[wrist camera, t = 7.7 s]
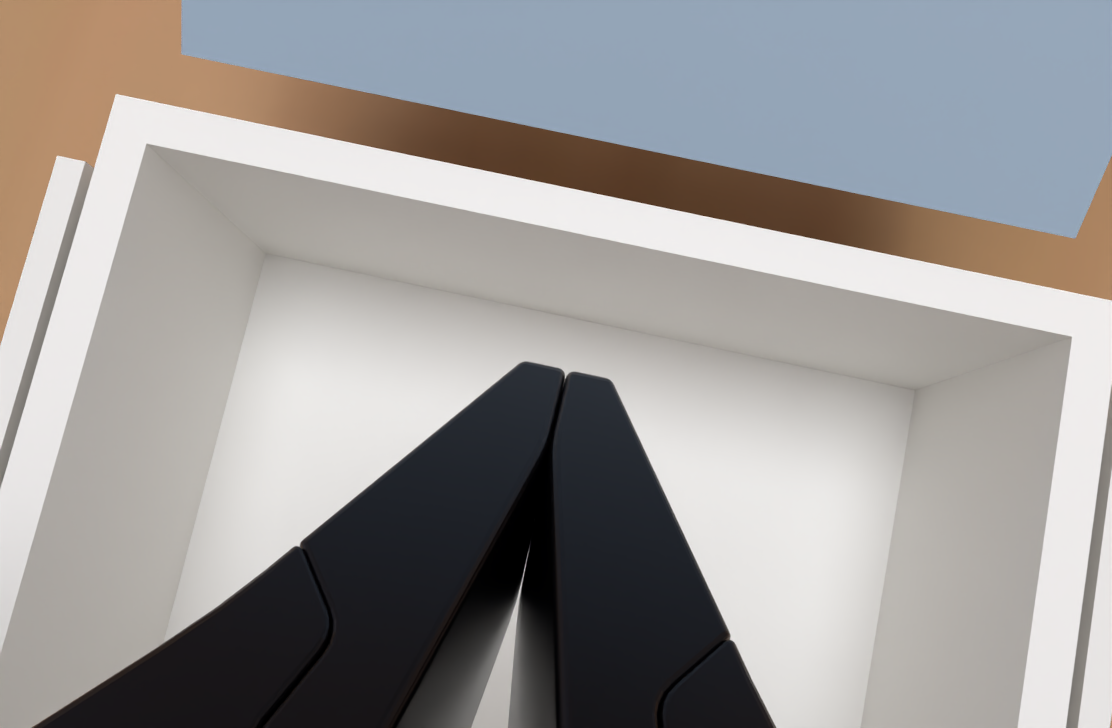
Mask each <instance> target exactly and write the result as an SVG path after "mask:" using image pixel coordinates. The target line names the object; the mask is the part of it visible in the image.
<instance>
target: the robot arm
mask: <svg viewBox="0 0 1112 728" xmlns="http://www.w3.org/2000/svg"><path fill="white" fill-rule="evenodd" d="M564 381H565V382H564ZM528 551H529V552H528ZM527 556H528V557H527ZM526 560H527V562H526ZM525 565H526V567H525ZM524 569H525V572H524ZM523 574H524V577H523ZM522 578H523V582H522ZM521 582H522V588H521V593H520V598H519V606H518V615H517V623H516V635H515V647H514V659H513V671H512V683H511V695H510V708H509V720H508V728H776V726H775V724H774V722H773V720H772V718H771V716H770V714H769V712H768V710H767V708H766V706H765V704H764V702H763V700H762V698H761V696H760V695H759V693H758V691H757V689H756V687H755V685H754V683H753V681H752V679H751V677H750V674H749V672H748V670H747V668H746V666H745V664H744V661H743V659H742V657H741V655H740V653H739V650H738V648H737V646H736V644H735V642H733V641H732V640H730V637H731V635H730V632H729V630H728V628H727V626H726V623H725V621H724V619H723V617H722V615H721V613H720V611H719V608H718V606H717V604H716V602H715V600H714V598H713V596H712V593H711V591H710V589H709V587H708V585H707V583H706V581H705V578H704V576H703V574H702V572H701V570H700V568H699V566H698V563H697V561H696V559H695V557H694V555H693V553H692V551H691V548H690V546H689V544H688V542H687V540H686V538H685V536H684V533H683V531H682V529H681V527H680V525H679V523H678V521H677V518H676V516H675V514H674V512H673V510H672V508H671V506H670V503H669V501H668V499H667V497H666V495H665V493H664V491H663V488H662V486H661V484H660V482H659V480H658V478H657V476H656V473H655V471H654V469H653V467H652V465H651V463H650V461H649V458H648V456H647V454H646V452H645V450H644V448H643V446H642V443H641V441H640V439H639V437H638V435H637V433H636V431H635V428H634V426H633V424H632V422H631V420H630V418H629V416H628V413H627V411H626V409H625V407H624V405H623V403H622V401H621V398H620V396H619V394H618V392H617V390H616V388H615V386H614V384H613V382H612V381H611V380H610V379H608V378H604V377H600V376H595V375H590V374H585V373H580V372H575V371H572V372H570V373H569V374H568V375H567V376H566V378H565V373H564V371H563V370H562V369H560V368H557V367H552V366H547V365H543V364H538V363H533V362H528V361H524V362H521V363H519V364H518V365H517V366H515V367H514V368H513V369H512V370H510V371H509V372H508V373H507V374H506V375H504V376H503V377H502V378H501V379H499V380H498V381H497V382H496V383H494V384H493V385H492V386H491V387H490V388H488V389H487V390H486V391H485V392H483V393H482V394H481V395H480V396H479V397H477V398H476V399H475V400H474V401H472V402H471V403H470V404H469V405H468V406H466V407H465V408H464V409H463V410H461V411H460V412H459V413H458V414H456V415H455V416H454V417H453V418H452V419H450V420H449V421H448V422H447V423H445V424H444V425H443V426H442V427H441V428H439V429H438V430H437V431H436V432H434V433H433V434H432V435H431V436H430V437H428V438H427V439H426V440H425V441H423V442H422V443H421V444H420V445H418V446H417V447H416V448H415V449H414V450H412V451H411V452H410V453H409V454H407V455H406V456H405V457H404V458H403V459H401V460H400V461H399V462H398V463H396V464H395V465H394V466H393V467H392V468H390V469H389V470H388V471H387V472H385V473H384V474H383V475H382V476H380V477H379V478H378V479H377V480H376V481H374V482H373V483H372V484H371V485H369V486H368V487H367V488H366V489H365V490H363V491H362V492H361V493H360V494H358V495H357V496H356V497H355V498H353V499H352V500H351V501H350V502H349V503H347V504H346V505H345V506H344V507H342V508H341V509H340V510H339V511H338V512H336V513H335V514H334V515H333V516H331V517H330V518H329V519H328V520H326V521H325V522H324V523H323V524H322V525H320V526H319V527H318V528H317V529H315V530H314V531H313V532H312V533H311V534H309V535H308V536H307V537H306V538H304V539H303V540H302V541H301V543H300V547H299V546H294V547H293V548H291V549H290V550H289V551H288V552H286V553H285V554H284V555H283V556H282V557H280V558H279V559H278V560H277V561H276V562H274V563H273V564H272V565H271V566H270V567H268V568H267V569H266V570H265V571H263V572H262V573H261V574H259V575H258V576H257V577H255V578H254V579H253V580H251V581H250V582H249V583H248V584H246V585H245V586H244V587H242V588H241V589H240V590H238V591H237V592H236V593H234V594H233V595H232V596H231V597H229V598H228V599H227V600H225V601H224V602H223V603H221V604H220V605H219V606H217V607H216V608H215V609H213V610H212V611H210V612H209V613H207V614H206V615H204V616H203V617H201V618H200V619H198V620H197V621H195V622H194V623H192V624H191V625H189V626H188V627H186V628H185V629H183V630H182V631H180V632H179V633H178V634H176V635H175V636H173V637H172V638H170V639H169V640H167V641H166V642H164V643H163V644H161V645H160V646H158V647H157V648H155V649H154V650H152V651H151V652H149V653H147V654H146V655H144V656H143V657H141V658H140V659H138V660H136V661H135V662H133V663H132V664H130V665H129V666H127V667H125V668H124V669H122V670H121V671H119V672H118V673H116V674H115V675H113V676H111V677H110V678H108V679H107V680H105V681H104V682H102V683H100V684H99V685H97V686H96V687H94V688H93V689H91V690H89V691H88V692H86V693H85V694H83V695H82V696H80V697H79V698H77V699H75V700H74V701H72V702H71V703H69V704H68V705H66V706H64V707H63V708H61V709H60V710H58V711H57V712H55V713H54V714H52V715H50V716H49V717H47V718H46V719H44V720H43V721H41V722H39V723H38V724H36V725H35V726H33V727H32V728H471V727H472V724H473V721H474V718H475V716H476V713H477V710H478V707H479V705H480V702H481V699H482V697H483V694H484V691H485V688H486V686H487V683H488V680H489V677H490V675H491V672H492V669H493V666H494V664H495V661H496V658H497V655H498V653H499V650H500V647H501V644H502V642H503V639H504V636H505V634H506V631H507V628H508V625H509V623H510V619H511V616H512V613H513V610H514V607H515V604H516V601H517V598H518V594H519V590H520V586H521Z"/></svg>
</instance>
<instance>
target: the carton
mask: <svg viewBox="0 0 1112 728" xmlns="http://www.w3.org/2000/svg"><path fill="white" fill-rule="evenodd" d="M524 361H528V362H533V363H538V364H543V365H547V366H552V367H557V368H560V369H562V370H563V371H564V373H565V378H566V376H567V375H568V374H569V373H570V372H572V371H575V372H580V373H585V374H590V375H595V376H600V377H604V378H608V379H610V380H611V381H612V382H613V384H614V386H615V388H616V390H617V392H618V394H619V396H620V398H621V401H622V403H623V405H624V407H625V409H626V411H627V413H628V416H629V418H630V420H631V422H632V424H633V426H634V428H635V431H636V433H637V435H638V437H639V439H640V441H641V443H642V446H643V448H644V450H645V452H646V454H647V456H648V458H649V461H650V463H651V465H652V467H653V469H654V471H655V473H656V476H657V478H658V480H659V482H660V484H661V486H662V488H663V491H664V493H665V495H666V497H667V499H668V501H669V503H670V506H671V508H672V510H673V512H674V514H675V516H676V518H677V521H678V523H679V525H680V527H681V529H682V531H683V533H684V536H685V538H686V540H687V542H688V544H689V546H690V548H691V551H692V553H693V555H694V557H695V559H696V561H697V563H698V566H699V568H700V570H701V572H702V574H703V576H704V578H705V581H706V583H707V585H708V587H709V589H710V591H711V593H712V596H713V598H714V600H715V602H716V604H717V606H718V608H719V611H720V613H721V615H722V617H723V619H724V621H725V623H726V626H727V628H728V630H729V632H730V635H731V637H730V640H732V641H733V642H735V644H736V646H737V648H738V650H739V653H740V655H741V657H742V659H743V661H744V664H745V666H746V668H747V670H748V672H749V674H750V677H751V679H752V681H753V683H754V685H755V687H756V689H757V691H758V693H759V695H760V696H761V698H762V700H763V702H764V704H765V706H766V708H767V710H768V712H769V714H770V716H771V718H772V720H773V722H774V724H775V726H776V728H1110V721H1111V714H1112V301H1111V300H1106V299H1101V298H1096V297H1091V296H1087V295H1082V294H1077V293H1072V292H1067V291H1062V290H1058V289H1053V288H1048V287H1043V286H1038V285H1034V284H1029V283H1024V282H1019V281H1014V280H1009V279H1005V278H1000V277H995V276H990V275H985V274H981V273H976V272H971V271H966V270H961V269H956V268H952V267H947V266H942V265H937V264H932V263H928V262H923V261H918V260H913V259H908V258H903V257H899V256H894V255H889V254H884V253H879V252H875V251H870V250H865V249H860V248H855V247H850V246H846V245H841V244H836V243H831V242H826V241H822V240H817V239H812V238H807V237H802V236H797V235H793V234H788V233H783V232H778V231H773V230H769V229H764V228H759V227H754V226H749V225H745V224H740V223H735V222H730V221H725V220H720V219H716V218H711V217H706V216H701V215H696V214H692V213H687V212H682V211H677V210H672V209H667V208H663V207H658V206H653V205H648V204H643V203H639V202H634V201H629V200H624V199H619V198H614V197H610V196H605V195H600V194H595V193H590V192H586V191H581V190H576V189H571V188H566V187H561V186H557V185H552V184H547V183H542V182H537V181H533V180H528V179H523V178H518V177H513V176H508V175H504V174H499V173H494V172H489V171H484V170H480V169H475V168H470V167H465V166H460V165H455V164H451V163H446V162H441V161H436V160H431V159H427V158H422V157H417V156H412V155H407V154H402V153H398V152H393V151H388V150H383V149H378V148H374V147H369V146H364V145H359V144H354V143H349V142H345V141H340V140H335V139H330V138H325V137H321V136H316V135H311V134H306V133H301V132H297V131H292V130H287V129H282V128H277V127H272V126H268V125H263V124H258V123H253V122H248V121H244V120H239V119H234V118H229V117H224V116H219V115H215V114H210V113H205V112H200V111H195V110H191V109H186V108H181V107H176V106H171V105H166V104H162V103H157V102H152V101H147V100H142V99H138V98H133V97H128V96H123V95H118V94H116V96H115V99H114V103H113V106H112V110H111V113H110V116H109V120H108V123H107V127H106V130H105V133H104V137H103V140H102V144H101V147H100V151H99V154H98V157H97V161H96V164H95V168H93V167H92V166H90V165H89V164H88V163H87V162H85V161H80V160H75V159H71V158H66V157H61V156H57V158H56V161H55V165H54V168H53V172H52V175H51V178H50V182H49V185H48V188H47V192H46V195H45V198H44V202H43V205H42V208H41V212H40V215H39V218H38V222H37V225H36V228H35V232H34V235H33V238H32V242H31V245H30V248H29V252H28V255H27V258H26V262H25V265H24V268H23V272H22V275H21V278H20V282H19V285H18V289H17V292H16V295H15V299H14V302H13V305H12V309H11V312H10V315H9V319H8V322H7V325H6V329H5V332H4V335H3V339H2V342H1V345H0V728H32V727H33V726H35V725H36V724H38V723H39V722H41V721H43V720H44V719H46V718H47V717H49V716H50V715H52V714H54V713H55V712H57V711H58V710H60V709H61V708H63V707H64V706H66V705H68V704H69V703H71V702H72V701H74V700H75V699H77V698H79V697H80V696H82V695H83V694H85V693H86V692H88V691H89V690H91V689H93V688H94V687H96V686H97V685H99V684H100V683H102V682H104V681H105V680H107V679H108V678H110V677H111V676H113V675H115V674H116V673H118V672H119V671H121V670H122V669H124V668H125V667H127V666H129V665H130V664H132V663H133V662H135V661H136V660H138V659H140V658H141V657H143V656H144V655H146V654H147V653H149V652H151V651H152V650H154V649H155V648H157V647H158V646H160V645H161V644H163V643H164V642H166V641H167V640H169V639H170V638H172V637H173V636H175V635H176V634H178V633H179V632H180V631H182V630H183V629H185V628H186V627H188V626H189V625H191V624H192V623H194V622H195V621H197V620H198V619H200V618H201V617H203V616H204V615H206V614H207V613H209V612H210V611H212V610H213V609H215V608H216V607H217V606H219V605H220V604H221V603H223V602H224V601H225V600H227V599H228V598H229V597H231V596H232V595H233V594H234V593H236V592H237V591H238V590H240V589H241V588H242V587H244V586H245V585H246V584H248V583H249V582H250V581H251V580H253V579H254V578H255V577H257V576H258V575H259V574H261V573H262V572H263V571H265V570H266V569H267V568H268V567H270V566H271V565H272V564H273V563H274V562H276V561H277V560H278V559H279V558H280V557H282V556H283V555H284V554H285V553H286V552H288V551H289V550H290V549H291V548H293V547H294V546H299V547H300V543H301V541H302V540H303V539H304V538H306V537H307V536H308V535H309V534H311V533H312V532H313V531H314V530H315V529H317V528H318V527H319V526H320V525H322V524H323V523H324V522H325V521H326V520H328V519H329V518H330V517H331V516H333V515H334V514H335V513H336V512H338V511H339V510H340V509H341V508H342V507H344V506H345V505H346V504H347V503H349V502H350V501H351V500H352V499H353V498H355V497H356V496H357V495H358V494H360V493H361V492H362V491H363V490H365V489H366V488H367V487H368V486H369V485H371V484H372V483H373V482H374V481H376V480H377V479H378V478H379V477H380V476H382V475H383V474H384V473H385V472H387V471H388V470H389V469H390V468H392V467H393V466H394V465H395V464H396V463H398V462H399V461H400V460H401V459H403V458H404V457H405V456H406V455H407V454H409V453H410V452H411V451H412V450H414V449H415V448H416V447H417V446H418V445H420V444H421V443H422V442H423V441H425V440H426V439H427V438H428V437H430V436H431V435H432V434H433V433H434V432H436V431H437V430H438V429H439V428H441V427H442V426H443V425H444V424H445V423H447V422H448V421H449V420H450V419H452V418H453V417H454V416H455V415H456V414H458V413H459V412H460V411H461V410H463V409H464V408H465V407H466V406H468V405H469V404H470V403H471V402H472V401H474V400H475V399H476V398H477V397H479V396H480V395H481V394H482V393H483V392H485V391H486V390H487V389H488V388H490V387H491V386H492V385H493V384H494V383H496V382H497V381H498V380H499V379H501V378H502V377H503V376H504V375H506V374H507V373H508V372H509V371H510V370H512V369H513V368H514V367H515V366H517V365H518V364H519V363H521V362H524ZM564 382H565V381H564ZM528 552H529V551H528ZM527 557H528V556H527ZM526 562H527V560H526ZM525 567H526V565H525ZM524 572H525V569H524ZM523 577H524V574H523ZM522 582H523V578H522ZM522 582H521V586H520V590H519V594H518V598H517V601H516V604H515V607H514V610H513V613H512V616H511V619H510V623H509V625H508V628H507V631H506V634H505V636H504V639H503V642H502V644H501V647H500V650H499V653H498V655H497V658H496V661H495V664H494V666H493V669H492V672H491V675H490V677H489V680H488V683H487V686H486V688H485V691H484V694H483V697H482V699H481V702H480V705H479V707H478V710H477V713H476V716H475V718H474V721H473V724H472V727H471V728H508V720H509V708H510V695H511V683H512V671H513V659H514V647H515V635H516V623H517V615H518V606H519V598H520V593H521V588H522Z"/></svg>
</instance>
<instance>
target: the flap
mask: <svg viewBox="0 0 1112 728" xmlns="http://www.w3.org/2000/svg"><path fill="white" fill-rule="evenodd" d="M182 54H183V55H188V56H193V57H197V58H202V59H207V60H212V61H217V62H222V63H227V64H231V65H236V66H241V67H246V68H251V69H256V70H260V71H265V72H270V73H275V74H280V75H285V76H290V77H294V78H299V79H304V80H309V81H314V82H319V83H323V84H328V85H333V86H338V87H343V88H348V89H353V90H357V91H362V92H367V93H372V94H377V95H382V96H387V97H391V98H396V99H401V100H406V101H411V102H416V103H420V104H425V105H430V106H435V107H440V108H445V109H450V110H454V111H459V112H464V113H469V114H474V115H479V116H484V117H488V118H493V119H498V120H503V121H508V122H513V123H517V124H522V125H527V126H532V127H537V128H542V129H547V130H551V131H556V132H561V133H566V134H571V135H576V136H581V137H585V138H590V139H595V140H600V141H605V142H610V143H614V144H619V145H624V146H629V147H634V148H639V149H644V150H648V151H653V152H658V153H663V154H668V155H673V156H677V157H682V158H687V159H692V160H697V161H702V162H707V163H711V164H716V165H721V166H726V167H731V168H736V169H741V170H745V171H750V172H755V173H760V174H765V175H770V176H774V177H779V178H784V179H789V180H794V181H799V182H804V183H808V184H813V185H818V186H823V187H828V188H833V189H838V190H842V191H847V192H852V193H857V194H862V195H867V196H871V197H876V198H881V199H886V200H891V201H896V202H901V203H905V204H910V205H915V206H920V207H925V208H930V209H935V210H939V211H944V212H949V213H954V214H959V215H964V216H968V217H973V218H978V219H983V220H988V221H993V222H998V223H1002V224H1007V225H1012V226H1017V227H1022V228H1027V229H1031V230H1036V231H1041V232H1046V233H1051V234H1056V235H1061V236H1065V237H1070V238H1076V236H1077V233H1078V231H1079V229H1080V227H1081V224H1082V222H1083V220H1084V217H1085V215H1086V213H1087V211H1088V208H1089V206H1090V204H1091V202H1092V199H1093V197H1094V195H1095V192H1096V190H1097V188H1098V186H1099V183H1100V181H1101V179H1102V176H1103V174H1104V172H1105V170H1106V167H1107V165H1108V163H1109V161H1110V158H1111V156H1112V0H182Z"/></svg>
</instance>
